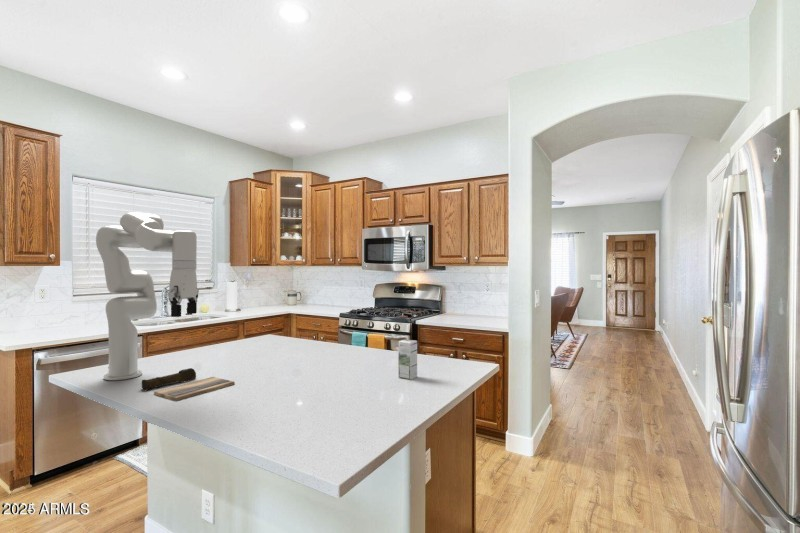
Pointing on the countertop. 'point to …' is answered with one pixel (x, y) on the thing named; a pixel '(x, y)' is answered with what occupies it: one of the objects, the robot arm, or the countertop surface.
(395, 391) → the countertop surface
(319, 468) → the countertop surface
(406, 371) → the syrup box
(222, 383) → the plywood panel
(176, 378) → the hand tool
